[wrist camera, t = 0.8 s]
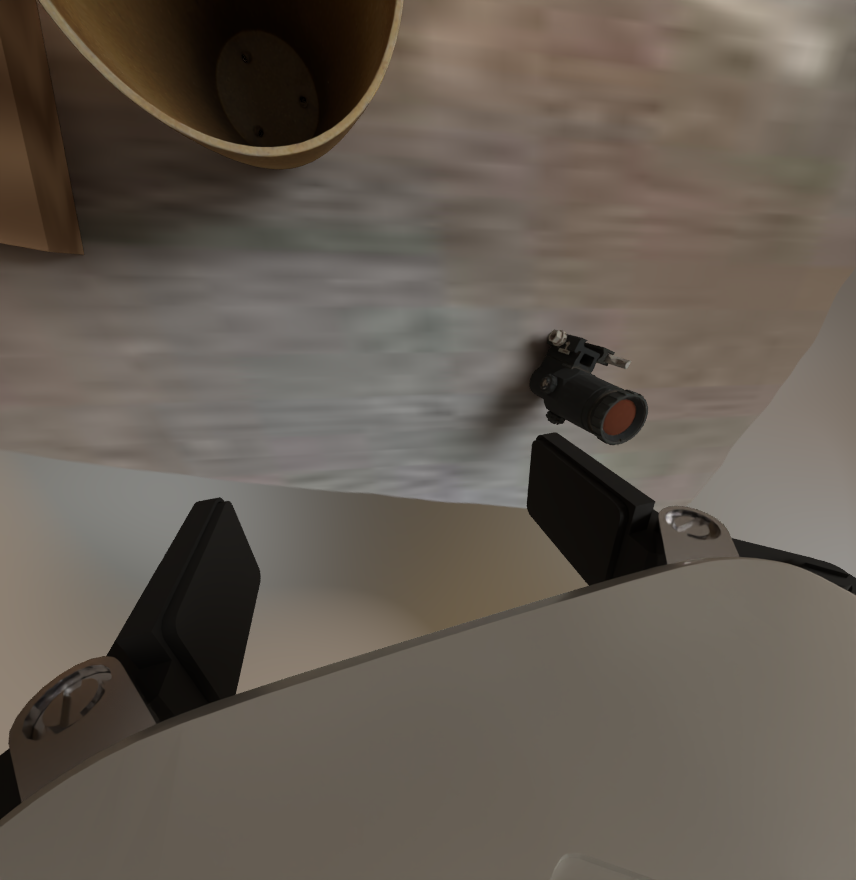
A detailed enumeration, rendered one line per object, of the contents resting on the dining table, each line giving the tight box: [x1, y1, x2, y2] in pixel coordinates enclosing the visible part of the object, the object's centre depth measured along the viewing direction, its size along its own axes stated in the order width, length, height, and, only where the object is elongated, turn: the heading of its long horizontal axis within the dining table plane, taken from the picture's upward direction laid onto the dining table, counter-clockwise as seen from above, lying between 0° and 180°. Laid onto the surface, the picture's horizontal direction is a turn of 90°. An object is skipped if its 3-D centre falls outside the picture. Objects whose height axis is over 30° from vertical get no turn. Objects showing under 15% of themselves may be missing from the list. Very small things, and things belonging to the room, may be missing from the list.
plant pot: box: [38, 0, 403, 169], centre depth 19 cm, size 15×15×16 cm
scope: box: [530, 330, 648, 445], centre depth 38 cm, size 8×14×10 cm
